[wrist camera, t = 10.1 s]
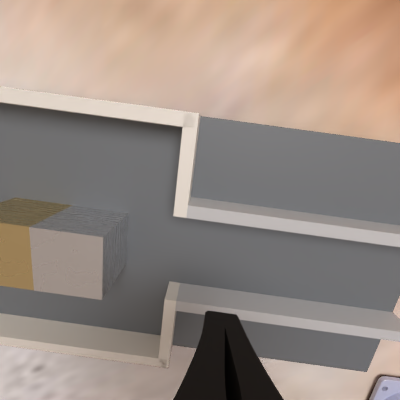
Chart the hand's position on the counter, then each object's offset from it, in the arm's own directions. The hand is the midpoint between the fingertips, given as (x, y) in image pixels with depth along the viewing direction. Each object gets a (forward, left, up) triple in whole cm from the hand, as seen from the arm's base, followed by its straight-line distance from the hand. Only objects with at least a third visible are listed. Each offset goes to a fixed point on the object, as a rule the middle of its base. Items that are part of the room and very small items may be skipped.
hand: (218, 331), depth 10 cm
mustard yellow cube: (0, +12, -7) cm, 14 cm away
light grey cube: (0, +8, -7) cm, 11 cm away
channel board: (0, +3, -8) cm, 9 cm away
